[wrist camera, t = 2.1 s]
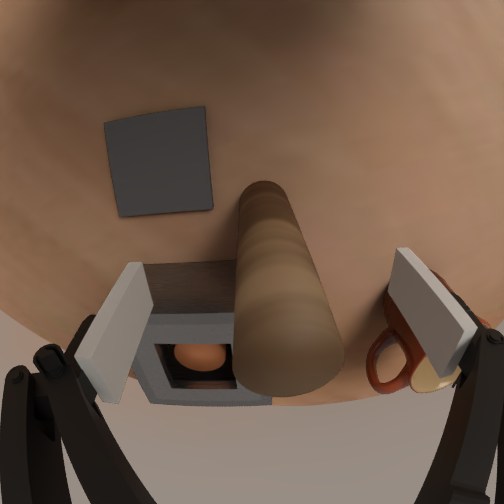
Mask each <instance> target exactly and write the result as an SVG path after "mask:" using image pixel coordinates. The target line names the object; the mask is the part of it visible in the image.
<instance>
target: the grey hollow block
mask: <svg viewBox="0 0 504 504" xmlns="http://www.w3.org/2000/svg"><path fill="white" fill-rule="evenodd" d="M236 266H237V260H230V261H209V262H188V263H166V264H144V265H143V268H144V272H145V276H146V279H147V283H148V287H149V291H150V294H151V298H152V301H153V308H152V311H151V313H150V316H149V318H148V321H147V324H146V326H145V329H144V332H143V334H142V337H141V340H140V343H139V345H138V348H137V351H136V354H135V357H134V360H133V362H132V365H131V367H132V369H133V371H134V373H135V375H136V377H137V379H138V381H139V383H140V385H141V387H142V389H143V391H144V392H145V394H146V396H147V398H148V400H149V402H150V403H154V404H167V405H183V406H259V405H272V397H271V396H265V395H260V394H257V393H255V392H252V391H250V390H248V389H246V388H245V387H244V386H242V385H241V384H240V383H239V382H238V381H237V379H236V378H235V376H234V373H233V369H232V360H233V334H234V310H235V288H236ZM168 344H231V348H226V358H225V362H224V363H223V365H222V366H220V367H219V368H217V369H215V370H212V371H196V370H192V369H189V368H187V367H185V366H184V365H182V364H181V363H180V362H179V361H178V360H177V359H176V357H175V354H174V350H175V349H170V348H169V347H168Z"/></svg>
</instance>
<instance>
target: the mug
mask: <svg viewBox="0 0 504 504" xmlns="http://www.w3.org/2000/svg"><path fill="white" fill-rule="evenodd" d="M429 270H430V269H429ZM430 271H431V272H432V273H433V274H434V275H435V277H436V278H437V279H438V280H439V281H440V282H441V283H442V284H443V286H444V287H445V288H446V289H447V290H448V291H449V292H453V290H452V289H451V288H450V287H449V286H448V284H447V283H446V281H445V280H444V279H443V278H442V277H440V276H439V275H438V274H437V273H436V272H434V271H432V270H430ZM453 293H454V292H453ZM383 309H384V314H385V318H386V320H387V324H388V326H389V327H388V328H387V329H385V330H384V331H383V332H382V333H381V334H380V335H379V337H378V338H377V339H376V341H375V342H374V343H373V344H372V346H371V347H370V349H369V351H368V354H367V358H366V373H367V377H368V380H369V382H370V384H371V386H372V387H373V389H374V390H375V391H376V392H378V393H381V394H390V393H393V392H396V391H398V390H400V389H402V388H404V387H406V386H408V385H410V387H411V389H412V390H413V391H415V392H417V393H428V392H433V391H437V390H440V389H442V388H444V387H446V386H448V385H450V384H452V383H454V382H455V380H456V379H457V377H458V375H459V374H460V372H461V369H460V367H459V366H457V368H456V370H455V371H454V373H453V375H450V376H447V377H444V378H440V379H439V377H438V375H437V373H436V371H435V370H434V368H433V366H432V364H431V362H430V361H429V359H428V357H427V355H426V353H425V352H424V350H423V348H422V347H421V345H420V343H419V341H418V340H417V338H416V336H415V335H414V333H413V331H412V330H411V328H410V326H409V325H408V323H407V321H406V320H405V318H404V316H403V315H402V313H401V312H400V310H399V308H398V307H397V305H396V304H395V302H394V301H393V299H392V298H391V296H390V294H389V293H388V290H387V292H386V294H385V297H384V300H383ZM475 316H476V315H475ZM476 317H477V318H478V319H479V321H480V322H481V323H482V324H483V326H484V327H485V328H486V329H489V328H491V326H490V324H489V323H488V322H486V321H485V320H483V319H481V318H480V317H478V316H476ZM491 329H492V328H491ZM394 343H398V344H399V345H400V347H401V348H402V350H403V352H404V354H405V357H406V364H405V366H404V367H403V369H402V370H401V372H400V373H399V375H398V376H397V377H396V378H394V379H393V380H391V381H389V382H387V383H380V381H379V379H378V375H377V370H376V363H377V359H378V357H379V355H380V353H381V352H382V351H383V350H384V349H385V348H386V347H388V346H390V345H392V344H394Z"/></svg>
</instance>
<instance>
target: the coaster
mask: <svg viewBox="0 0 504 504" xmlns="http://www.w3.org/2000/svg"><path fill="white" fill-rule="evenodd" d="M104 128H105V136H106V144H107V151H108V157H109V164H110V170H111V175H112V181H113V186H114V192H115V197H116V202H117V207H118V211H119V216H120V217H125V216H135V215H146V214H157V213H169V212H181V211H194V210H209V209H213V207H214V206H213V196H212V186H211V175H210V164H209V152H208V140H207V128H206V114H205V106H202V107H193V108H185V109H177V110H170V111H163V112H157V113H151V114H145V115H140V116H134V117H129V118H124V119H120V120H115V121H110V122H106V123H104Z"/></svg>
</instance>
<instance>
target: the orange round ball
mask: <svg viewBox="0 0 504 504" xmlns="http://www.w3.org/2000/svg"><path fill="white" fill-rule="evenodd" d="M174 354H175V357H176V359H177V360H178V361H179V362H180V363H181V364H182V365H184V366H185V367H187V368H189V369H192V370H196V371H212V370H215V369H217V368H219V367H220V366H222V365H223V363H224V362H225V358H226V344H176V345H175V350H174Z"/></svg>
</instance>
